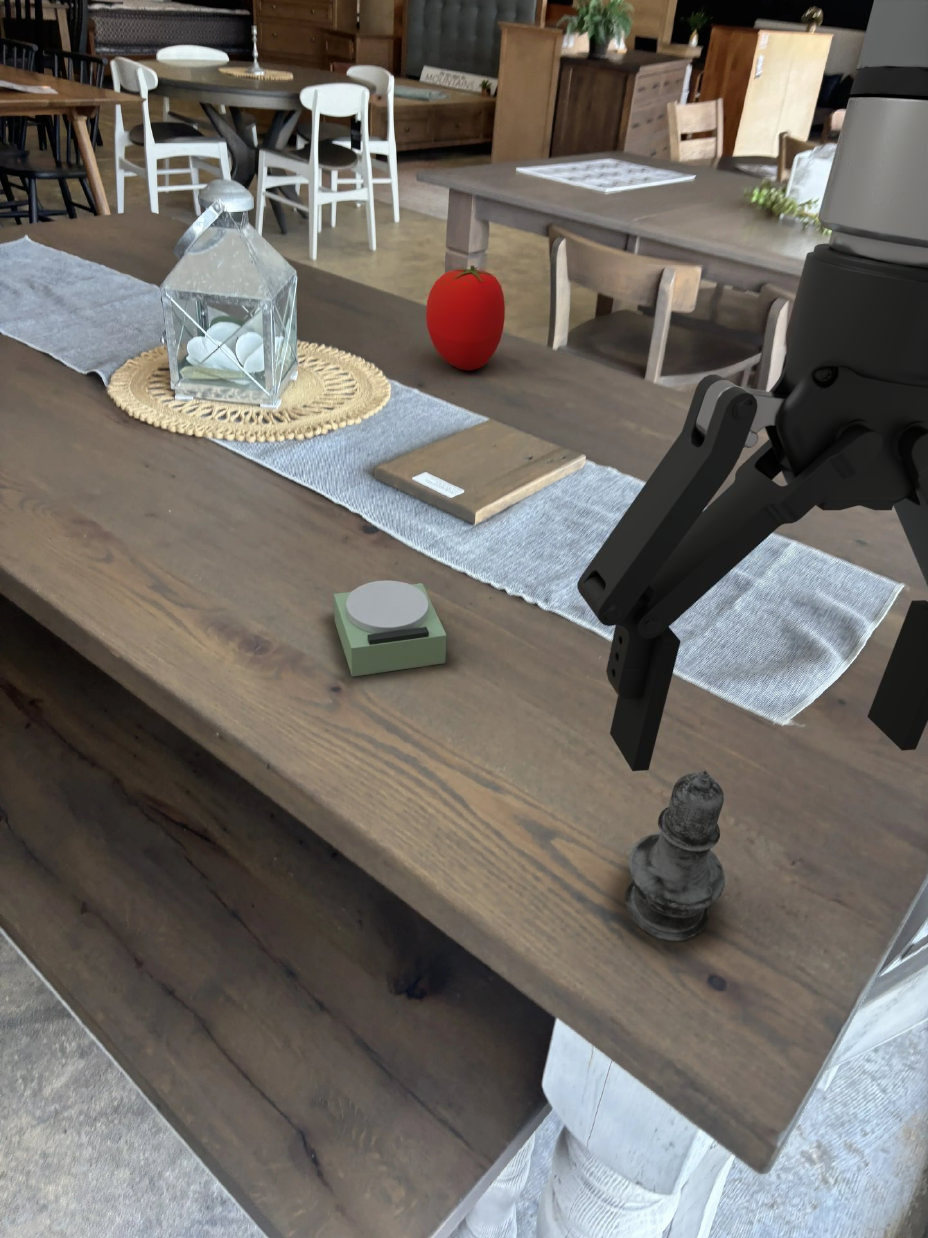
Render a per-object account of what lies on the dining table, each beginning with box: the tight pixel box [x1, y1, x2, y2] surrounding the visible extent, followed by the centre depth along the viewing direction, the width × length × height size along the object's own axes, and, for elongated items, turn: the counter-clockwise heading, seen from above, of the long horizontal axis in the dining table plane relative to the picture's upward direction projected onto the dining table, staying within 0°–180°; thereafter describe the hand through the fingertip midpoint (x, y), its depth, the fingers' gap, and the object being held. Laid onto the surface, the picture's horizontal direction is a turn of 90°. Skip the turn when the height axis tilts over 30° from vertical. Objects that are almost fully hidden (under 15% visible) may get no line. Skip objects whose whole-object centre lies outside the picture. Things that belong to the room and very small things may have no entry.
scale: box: [333, 580, 448, 677], centre depth 78 cm, size 8×8×4 cm
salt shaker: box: [624, 770, 726, 942], centre depth 54 cm, size 6×6×12 cm
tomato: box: [425, 264, 506, 371], centre depth 131 cm, size 13×11×14 cm
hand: (764, 742), depth 42 cm, fingers open, 13 cm apart
